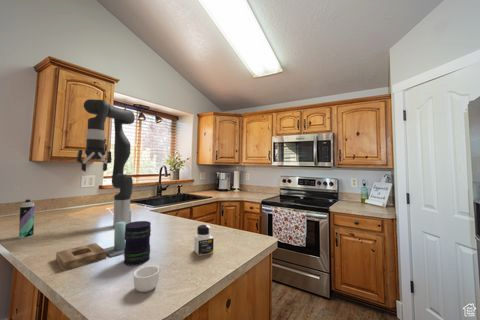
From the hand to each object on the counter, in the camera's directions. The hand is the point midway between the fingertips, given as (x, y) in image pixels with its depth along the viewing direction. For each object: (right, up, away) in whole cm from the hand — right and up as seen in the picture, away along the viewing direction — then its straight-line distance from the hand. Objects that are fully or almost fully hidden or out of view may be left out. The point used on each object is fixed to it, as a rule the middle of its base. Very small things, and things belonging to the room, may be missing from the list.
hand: (94, 171), depth 105 cm
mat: (+17, -36, -8) cm, 41 cm away
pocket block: (+7, -36, -17) cm, 40 cm away
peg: (+17, -36, -8) cm, 40 cm away
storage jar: (+30, -36, -17) cm, 50 cm away
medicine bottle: (+56, -37, -8) cm, 68 cm away
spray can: (-42, -36, +7) cm, 56 cm away
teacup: (+43, -36, -36) cm, 67 cm away
